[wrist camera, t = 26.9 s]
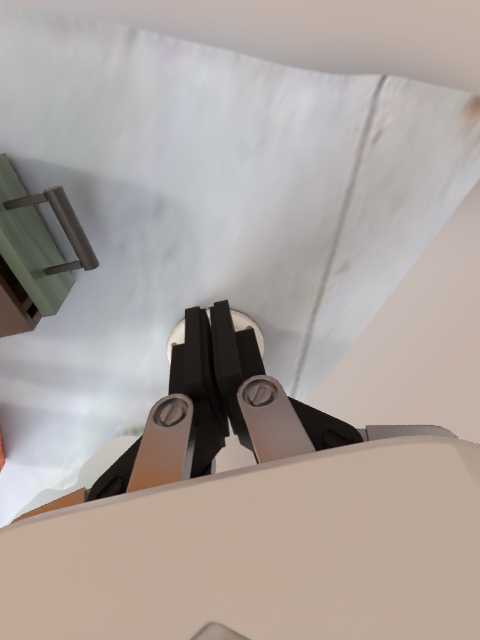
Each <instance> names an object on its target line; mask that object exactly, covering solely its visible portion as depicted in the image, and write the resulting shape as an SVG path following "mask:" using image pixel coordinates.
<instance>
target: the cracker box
mask: <svg viewBox="0 0 480 640" xmlns="http://www.w3.org/2000/svg"><path fill="white" fill-rule="evenodd" d="M4 464H5V459H4V452H3V446H2V439H1V433H0V472H1V470H2V468H3V466H4Z"/></svg>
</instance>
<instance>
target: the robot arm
mask: <svg viewBox="0 0 480 640" xmlns="http://www.w3.org/2000/svg"><path fill="white" fill-rule="evenodd" d="M263 354H264V340H263V336H262V333H261V331H260V329H259V327H258V326H257V325H256V323H255V322H254V321H253V320H251V319H250V318H249V317H247V316H246V315H244V314H242V313H240V312H236V311H233V310H230V308H229V303H228V300H224V301H220V302H215V303H214V307H210V308H209V309H208V310H206V309H200V307H199V306H197V307H193V308H188V309H185V319H184V320H182V321H181V322H180V323H179V324H178V325H177V326H176V327H175V328H174V330H173V331H172V333H171V335H170V337H169V341H168V346H167V355H168V360H169V363H170V380H169V394H168V396H166V397H164V398H162V399H160V400H159V401H158V402H156V404H155V405H154V406H153V407H152V409H151V411H150V413H149V416H148V419H147V422H146V426H145V429H144V433H143V435H142V436H141V437H140V438H139V439H138V440H137V441H136V442H135V443H134V444H133V445H132V446H131V447H130V448H129V449H128V450H127V451H126V452H125V453H124V454H123V455H122V456H121V457H120V458H119V459H118V460H117V461H116V462H115V463H114V464H113V465H112V466H111V467H110V468H109V469H108V470H107V471H106V472H105V473H104V474H103V475H102V476H101V477H99V479H98V480H97V481H96V482H95V483H94V485H93V486H92V488H90V489H88V490H87V489H86V488H85V487H84V488H82V489H79V490H77V491H75V492H73V493H70V494H68V495H66V496H63V497H61V498H59V499H57V500H54V501H52V502H50V503H48V504H45V505H43V506H41V507H39V508H37V509H34V510H32V511H30V512H28V513H25V514H23V515H21V516H20V517H18V518H17V519H15V520H14V521H13V522H12V523H11V524H9V525H7V526H4V527H2V528H0V640H480V444H477V443H474V442H470V441H466V440H462V439H459V438H458V437H457V436H456V435H454V434H453V433H452V432H451V431H449V430H447V429H445V428H443V427H440V426H434V425H366V429H355V428H354V427H353V426H351V425H349V424H348V423H346V422H344V421H341V420H339V419H337V418H335V417H332V416H330V415H328V414H326V413H324V412H321V411H319V410H317V409H315V408H312V407H310V406H308V405H306V404H304V403H302V402H299V401H297V400H295V399H293V398H290V397H288V396H287V395H286V393H285V391H284V389H283V387H282V385H281V384H280V383H279V381H278V380H276V379H275V378H273V377H271V376H267V375H266V373H265V369H264V366H263V362H262V357H263Z"/></svg>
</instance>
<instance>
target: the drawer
mask: <svg viewBox="0 0 480 640" xmlns="http://www.w3.org/2000/svg"><path fill="white" fill-rule="evenodd" d="M47 201H49V203H50V205H51V207H52V209H53V211H54V213H55V215H56V217H57V218H58V220H59V222H60V224H61V226H62V228H63V230H64V232H65V234H66V236H67V238H68V239H69V241H70V243H71V245H72V247H73V249H74V251H75V253H76V255H77V257H78V259H79V260H78V261H73V262H69V263H65V261H64V260H63V258H62V256H61V254H60V252H59V250H58V249H57V247H56V245H55V243H54V241H53V240H52V238H51V236H50V234H49V232H48V231H47V229H46V227H45V225H44V223H43V222H42V220H41V218H40V216H39V214H38V213H37V211H36V209H35V207H34V204H38V203H42V202H47ZM98 266H99V262H98V260H97V258H96V255H95V253H94V251H93V249H92V247H91V245H90V243H89V241H88V239H87V237H86V235H85V233H84V231H83V229H82V227H81V225H80V223H79V221H78V219H77V216H76V214H75V212H74V210H73V208H72V206H71V204H70V202H69V200H68V198H67V196H66V194H65V192H64V190H63V188H62V186H54V187H50V188H48V189H45V190H44V193H40V194H35V195H31V196H28V195H27V193H26V191H25V189H24V187H23V186H22V184H21V182H20V180H19V178H18V177H17V175H16V173H15V171H14V169H13V168H12V166H11V164H10V162H9V160H8V159H7V157H6V155H5V154H1V155H0V275H1V276H2V277H3V279H4V280H5V282H6V283H7V284H8V286H9V287H10V289H11V290H12V292H13V293H14V294H15V296H16V297H17V299H18V300H19V302H20V303H21V304H22V306H23V307H24V309H25V310H26V311H27V310H28V309H29V307H30V306H31V304H32V303H34V304H35V306H36V307H37V309H38V310H39V312H40V313H41V315H42V316H43V317H47V316H52V315H56V313H57V312H58V310H59V308H60V307H61V305H62V303H63V301H64V300H65V298H66V296H67V295H68V293H69V291H70V289H71V288H72V286H73V284H74V283H75V279H74V278H73V276H72V274H71V272H70V271H71V270H76V269H80V268H84V270H86V271H89V270H93V269H95V268H97V267H98Z"/></svg>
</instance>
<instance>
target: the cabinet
mask: <svg viewBox="0 0 480 640" xmlns="http://www.w3.org/2000/svg"><path fill="white" fill-rule="evenodd" d="M41 318H42V315H41V313H40V312H39V310H38V309H37V307H36V306H35V304H34V303H32V304H31V306H30V307H29V309H28V310H27V311H26V310H25V309H24V307H23V306H22V304H21V303H20V302H19V300H18V299H17V297H16V296H15V294H14V293H13V292H12V290H11V289H10V287H9V286H8V284H7V283H6V282H5V280H4V279H3V277H2V276H1V275H0V338H2V337H6V336H11V335H15V334H20V333H24V332H29V331H33V330H34V329H35V327H36V325H37V324H38V322H39V321H40V319H41Z"/></svg>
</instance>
